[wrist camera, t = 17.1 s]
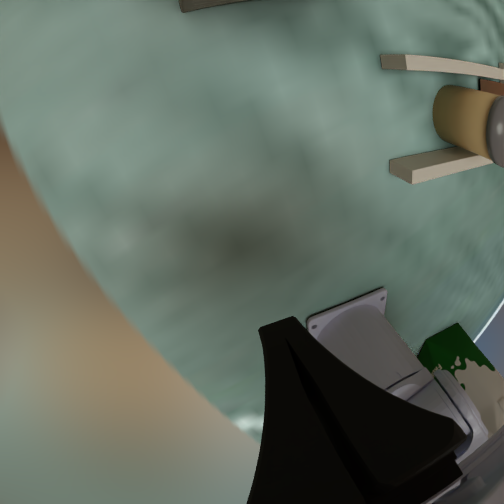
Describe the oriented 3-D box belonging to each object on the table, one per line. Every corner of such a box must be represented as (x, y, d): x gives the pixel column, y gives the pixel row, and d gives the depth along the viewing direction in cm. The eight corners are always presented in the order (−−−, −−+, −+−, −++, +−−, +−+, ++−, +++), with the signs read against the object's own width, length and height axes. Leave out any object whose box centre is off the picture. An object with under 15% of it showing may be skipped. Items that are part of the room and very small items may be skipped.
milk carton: (444, 353, 40) (507, 438, 23) (404, 375, 38) (469, 473, 22) (463, 315, 35) (541, 407, 18) (422, 337, 33) (505, 448, 17)
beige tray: (503, 153, 22) (545, 174, 17) (389, 181, 20) (447, 216, 15) (502, 63, 16) (550, 75, 11) (378, 44, 14) (447, 43, 9)
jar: (470, 135, 20) (522, 157, 15) (435, 150, 20) (492, 176, 15) (464, 80, 17) (521, 93, 12) (427, 88, 17) (490, 102, 12)
